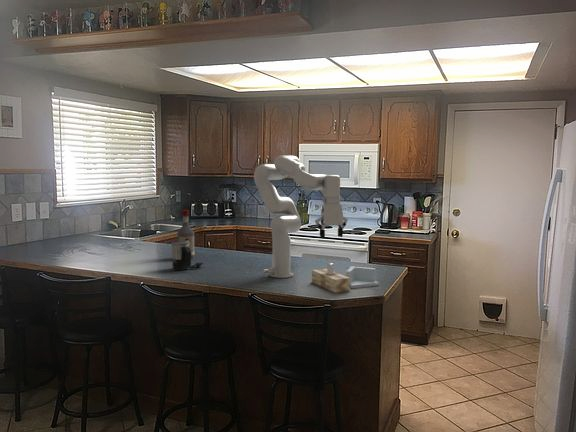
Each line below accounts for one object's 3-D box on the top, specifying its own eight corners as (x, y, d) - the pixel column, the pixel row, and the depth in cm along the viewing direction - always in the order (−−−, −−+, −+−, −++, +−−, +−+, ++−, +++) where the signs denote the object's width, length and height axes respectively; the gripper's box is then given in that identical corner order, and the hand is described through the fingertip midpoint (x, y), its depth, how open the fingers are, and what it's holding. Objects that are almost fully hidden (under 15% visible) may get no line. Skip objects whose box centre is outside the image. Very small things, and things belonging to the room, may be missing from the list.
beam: (334, 292, 217) (335, 279, 217) (312, 282, 237) (312, 270, 237) (349, 290, 221) (349, 278, 220) (326, 280, 241) (326, 268, 240)
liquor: (177, 258, 297) (176, 209, 294) (191, 257, 301) (191, 209, 298) (180, 260, 289) (179, 211, 286) (195, 259, 292) (194, 210, 289)
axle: (329, 287, 227) (329, 264, 226) (325, 285, 230) (326, 263, 229) (334, 286, 228) (334, 264, 227) (331, 285, 231) (331, 262, 230)
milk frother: (168, 270, 262) (167, 243, 261) (187, 265, 276) (186, 239, 275) (188, 272, 256) (188, 245, 254) (206, 267, 270) (206, 241, 268)
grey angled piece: (350, 288, 225) (351, 273, 224) (336, 282, 236) (336, 267, 236) (380, 285, 232) (380, 270, 231) (365, 279, 244) (365, 265, 243)
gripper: (319, 202, 218) (319, 239, 220) (351, 201, 225) (351, 237, 227) (311, 201, 225) (311, 237, 226) (343, 200, 232) (342, 235, 234)
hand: (331, 237), depth 227 cm, fingers open, 9 cm apart
